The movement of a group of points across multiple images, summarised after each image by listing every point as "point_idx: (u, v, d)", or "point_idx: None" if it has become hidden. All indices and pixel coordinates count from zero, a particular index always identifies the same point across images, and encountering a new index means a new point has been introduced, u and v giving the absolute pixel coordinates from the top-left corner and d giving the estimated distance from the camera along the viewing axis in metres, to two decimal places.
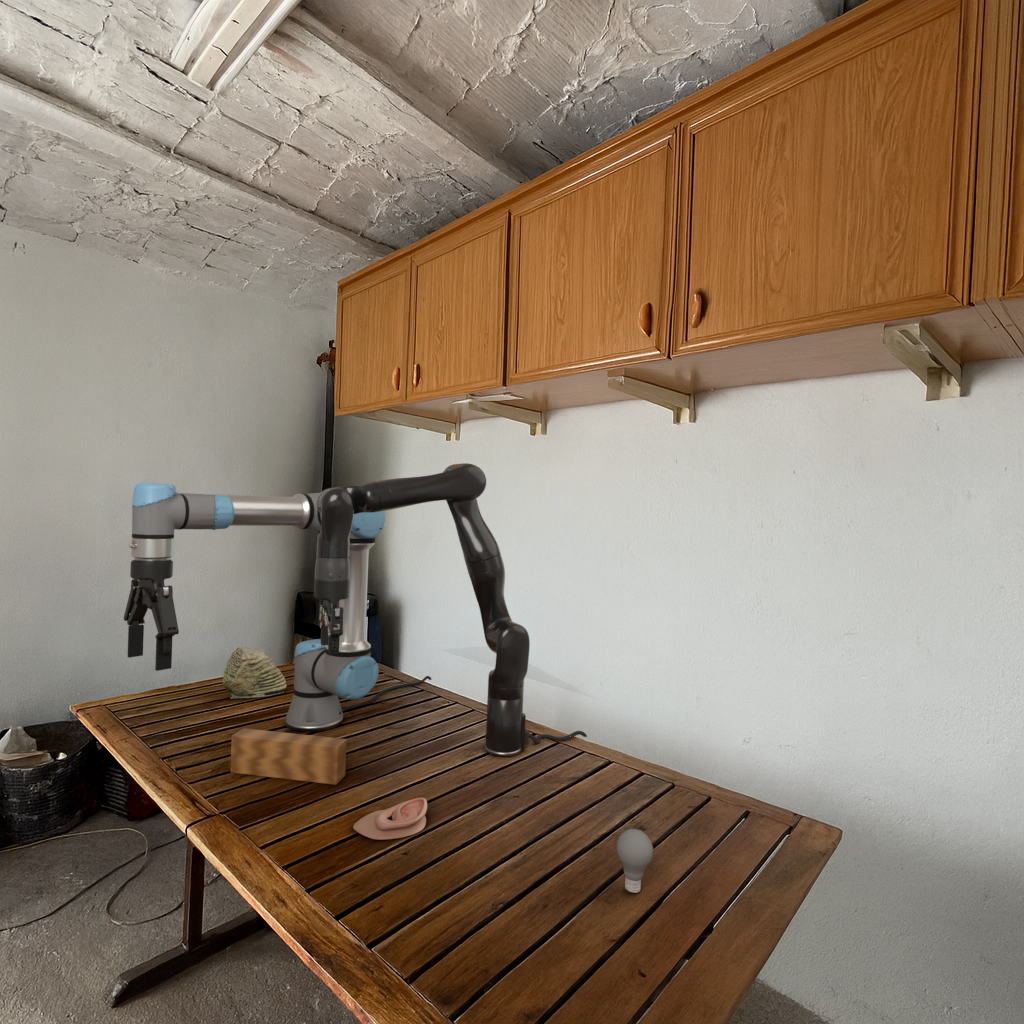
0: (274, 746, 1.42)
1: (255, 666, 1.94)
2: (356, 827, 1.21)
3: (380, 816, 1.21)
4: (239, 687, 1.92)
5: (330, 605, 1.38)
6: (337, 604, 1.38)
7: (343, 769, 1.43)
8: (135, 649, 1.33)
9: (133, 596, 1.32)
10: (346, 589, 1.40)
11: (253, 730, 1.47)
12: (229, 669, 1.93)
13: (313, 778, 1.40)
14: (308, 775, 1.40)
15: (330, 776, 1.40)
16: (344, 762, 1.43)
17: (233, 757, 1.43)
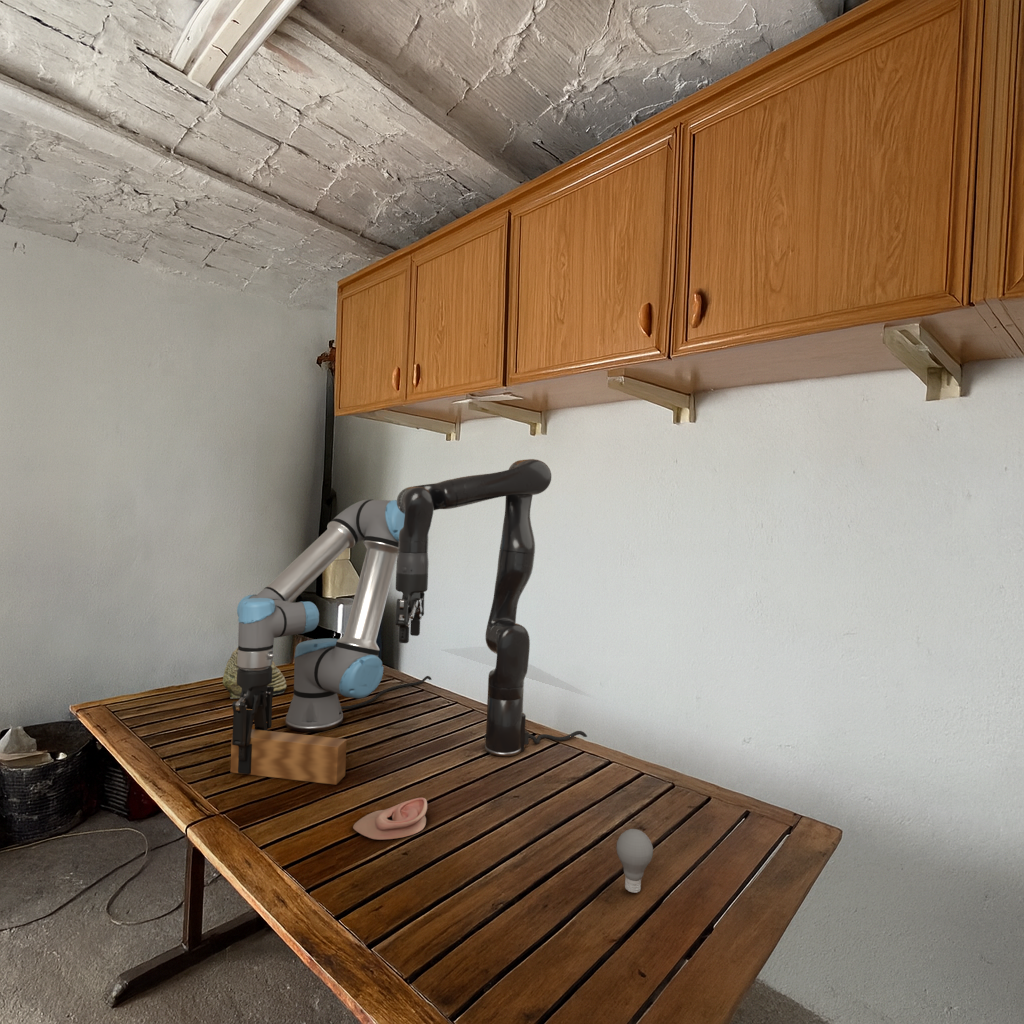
0: (274, 746, 1.42)
1: None
2: (356, 827, 1.21)
3: (380, 816, 1.21)
4: (239, 687, 1.92)
5: (402, 597, 1.47)
6: (408, 596, 1.46)
7: (343, 769, 1.43)
8: None
9: None
10: (419, 583, 1.47)
11: (253, 730, 1.47)
12: (229, 669, 1.93)
13: (313, 778, 1.40)
14: (308, 775, 1.40)
15: (330, 776, 1.40)
16: (344, 762, 1.43)
17: (233, 757, 1.43)
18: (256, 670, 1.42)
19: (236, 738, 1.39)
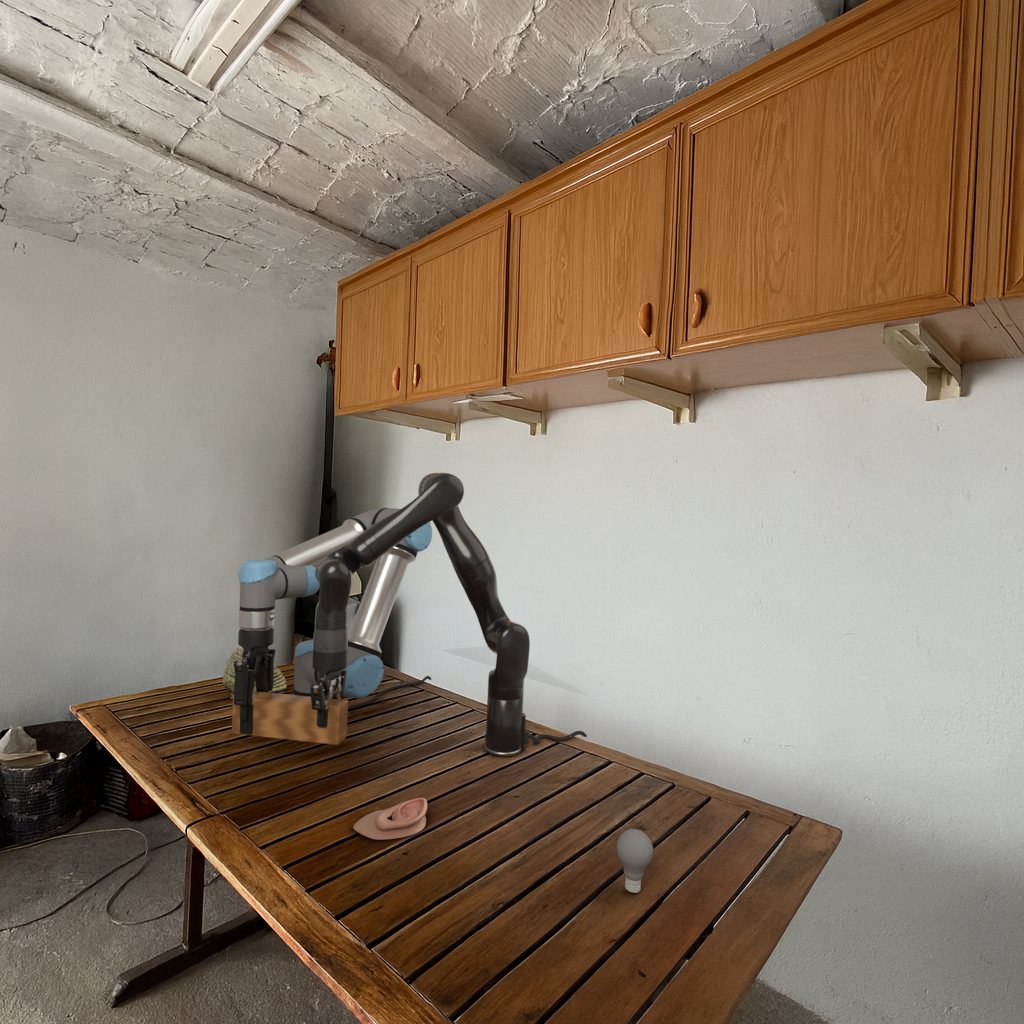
0: (276, 706, 1.41)
1: None
2: (356, 827, 1.21)
3: (380, 816, 1.21)
4: None
5: (318, 676, 1.39)
6: (324, 676, 1.38)
7: (345, 730, 1.43)
8: None
9: None
10: (336, 662, 1.39)
11: (254, 692, 1.47)
12: (229, 669, 1.93)
13: (314, 738, 1.40)
14: (309, 735, 1.40)
15: (332, 736, 1.40)
16: (345, 723, 1.43)
17: (234, 718, 1.43)
18: (257, 630, 1.42)
19: (238, 698, 1.39)
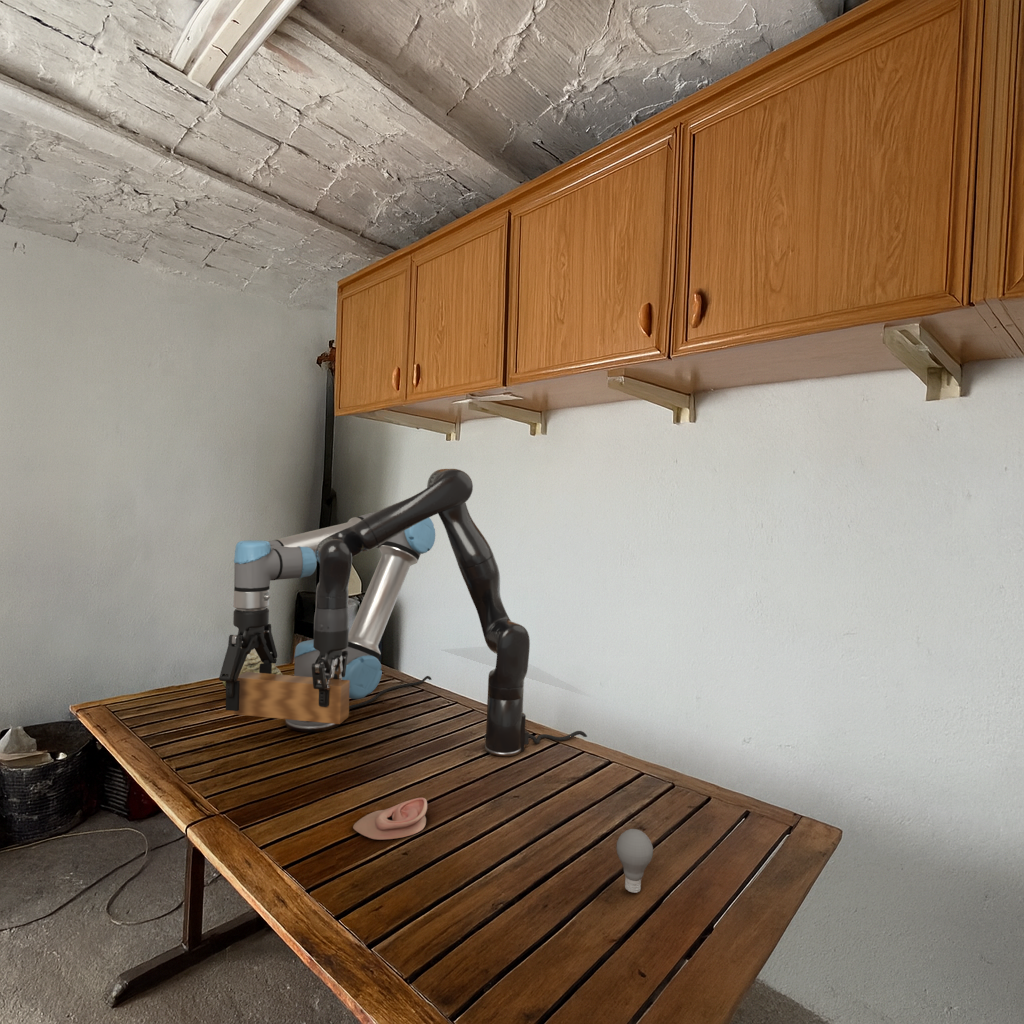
0: (277, 687, 1.41)
1: (255, 666, 1.94)
2: (356, 827, 1.21)
3: (380, 816, 1.21)
4: None
5: (319, 656, 1.38)
6: (325, 655, 1.38)
7: (347, 709, 1.43)
8: None
9: None
10: (337, 641, 1.39)
11: (256, 673, 1.47)
12: None
13: (316, 718, 1.40)
14: (311, 715, 1.40)
15: (333, 715, 1.39)
16: (347, 703, 1.43)
17: None
18: (253, 610, 1.42)
19: (225, 672, 1.36)
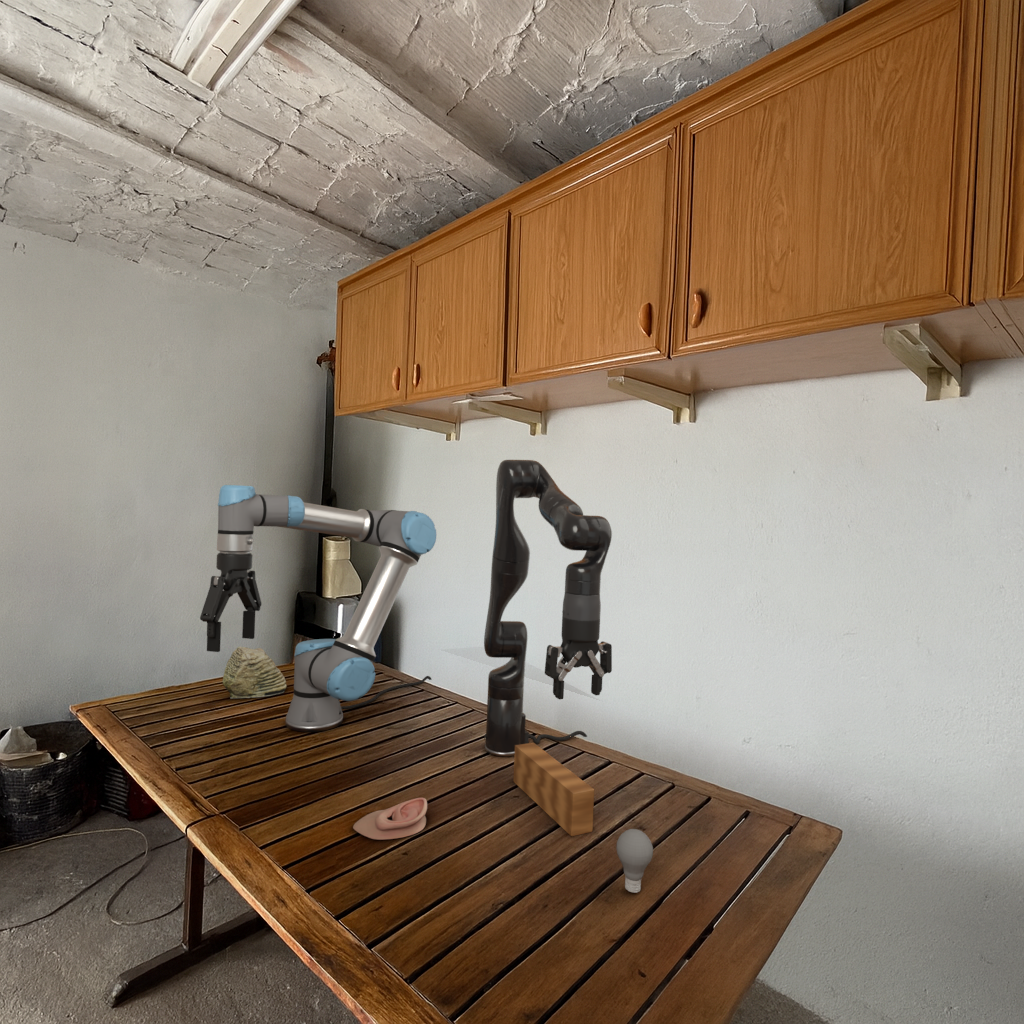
0: (536, 769, 1.35)
1: (255, 666, 1.94)
2: (356, 827, 1.21)
3: (380, 816, 1.21)
4: (239, 687, 1.92)
5: None
6: (565, 644, 1.24)
7: (588, 823, 1.24)
8: None
9: None
10: (576, 631, 1.22)
11: (536, 747, 1.44)
12: (229, 669, 1.93)
13: (557, 819, 1.27)
14: (554, 813, 1.28)
15: (567, 824, 1.23)
16: (589, 815, 1.24)
17: (515, 767, 1.44)
18: (235, 553, 1.42)
19: (206, 611, 1.36)
